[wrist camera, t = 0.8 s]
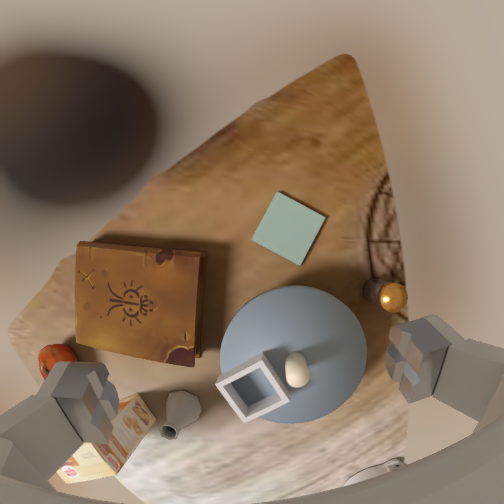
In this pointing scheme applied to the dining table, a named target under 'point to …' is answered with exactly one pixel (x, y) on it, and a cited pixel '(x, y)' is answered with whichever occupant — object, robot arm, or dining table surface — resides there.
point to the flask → (180, 413)
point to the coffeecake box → (110, 444)
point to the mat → (288, 228)
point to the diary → (140, 301)
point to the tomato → (54, 357)
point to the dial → (291, 356)
